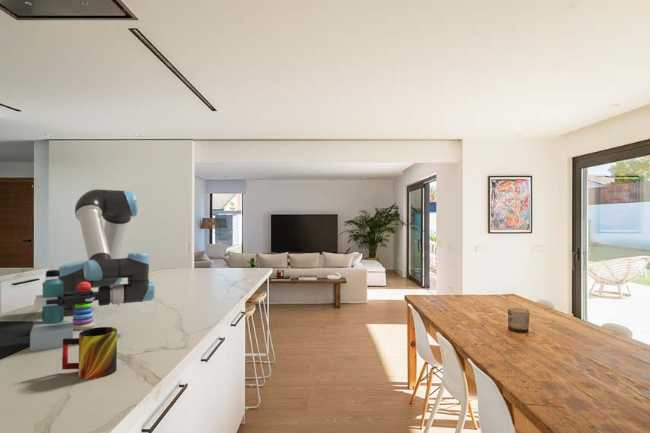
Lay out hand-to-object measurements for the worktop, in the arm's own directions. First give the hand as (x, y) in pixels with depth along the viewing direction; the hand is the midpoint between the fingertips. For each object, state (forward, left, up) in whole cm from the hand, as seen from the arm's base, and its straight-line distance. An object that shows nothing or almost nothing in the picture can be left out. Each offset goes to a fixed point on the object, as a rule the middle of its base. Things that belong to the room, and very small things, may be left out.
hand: (35, 301), depth 138 cm
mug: (+5, +40, -16) cm, 44 cm away
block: (-4, +3, -16) cm, 17 cm away
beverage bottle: (-5, +2, -10) cm, 11 cm away
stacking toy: (-21, -8, -16) cm, 28 cm away
